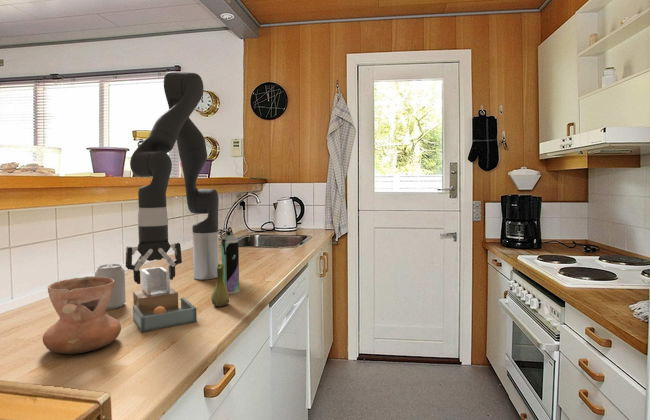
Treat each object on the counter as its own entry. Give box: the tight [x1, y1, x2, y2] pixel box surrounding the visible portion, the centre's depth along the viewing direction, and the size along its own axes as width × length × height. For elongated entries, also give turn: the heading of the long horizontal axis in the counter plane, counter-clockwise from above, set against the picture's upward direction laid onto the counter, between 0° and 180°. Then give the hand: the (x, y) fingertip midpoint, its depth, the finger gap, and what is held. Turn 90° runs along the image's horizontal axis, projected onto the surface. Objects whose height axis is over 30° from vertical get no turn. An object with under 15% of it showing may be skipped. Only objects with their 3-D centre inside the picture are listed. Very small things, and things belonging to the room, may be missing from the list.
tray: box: [132, 296, 198, 333], centre depth 103 cm, size 12×13×4 cm
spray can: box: [220, 230, 240, 295], centre depth 129 cm, size 6×6×20 cm
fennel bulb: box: [211, 263, 230, 307], centre depth 115 cm, size 6×5×12 cm
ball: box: [154, 306, 166, 315], centre depth 103 cm, size 3×3×3 cm
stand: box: [132, 285, 179, 314], centre depth 111 cm, size 9×10×5 cm
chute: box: [140, 266, 171, 297], centre depth 111 cm, size 9×6×6 cm, turn 34°
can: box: [94, 263, 127, 311], centre depth 114 cm, size 8×8×12 cm
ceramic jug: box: [42, 275, 122, 355], centre depth 86 cm, size 18×14×14 cm
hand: (155, 281), depth 111 cm, fingers open, 8 cm apart
